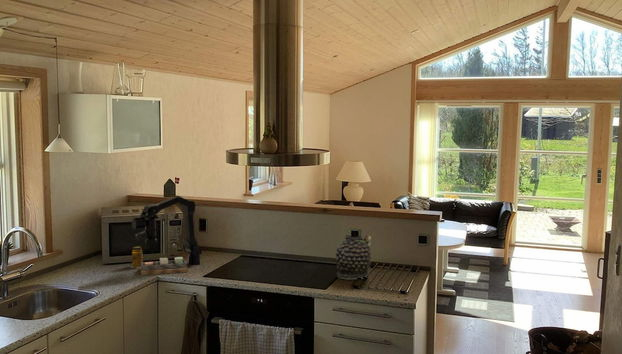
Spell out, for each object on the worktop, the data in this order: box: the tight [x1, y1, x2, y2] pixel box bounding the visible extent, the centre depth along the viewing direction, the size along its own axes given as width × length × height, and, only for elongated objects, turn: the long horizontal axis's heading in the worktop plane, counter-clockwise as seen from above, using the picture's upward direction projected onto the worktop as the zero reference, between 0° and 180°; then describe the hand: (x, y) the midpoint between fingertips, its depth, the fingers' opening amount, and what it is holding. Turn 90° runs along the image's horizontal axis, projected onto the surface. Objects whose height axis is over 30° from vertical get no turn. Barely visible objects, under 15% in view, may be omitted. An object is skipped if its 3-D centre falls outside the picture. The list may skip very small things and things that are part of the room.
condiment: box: [130, 245, 144, 269], centre depth 352 cm, size 7×8×12 cm
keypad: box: [140, 259, 189, 276], centre depth 343 cm, size 26×14×4 cm, turn 108°
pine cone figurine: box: [335, 234, 372, 280], centre depth 332 cm, size 21×15×25 cm
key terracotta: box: [144, 261, 154, 266], centre depth 340 cm, size 4×4×3 cm
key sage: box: [174, 256, 184, 264], centre depth 345 cm, size 4×4×3 cm
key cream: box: [159, 257, 169, 265], centre depth 343 cm, size 4×4×3 cm
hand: (151, 253), depth 340 cm, fingers closed
